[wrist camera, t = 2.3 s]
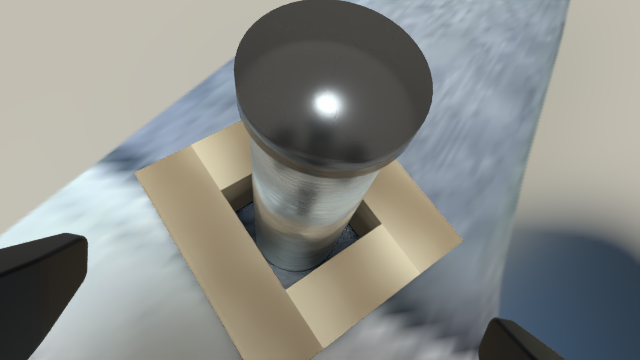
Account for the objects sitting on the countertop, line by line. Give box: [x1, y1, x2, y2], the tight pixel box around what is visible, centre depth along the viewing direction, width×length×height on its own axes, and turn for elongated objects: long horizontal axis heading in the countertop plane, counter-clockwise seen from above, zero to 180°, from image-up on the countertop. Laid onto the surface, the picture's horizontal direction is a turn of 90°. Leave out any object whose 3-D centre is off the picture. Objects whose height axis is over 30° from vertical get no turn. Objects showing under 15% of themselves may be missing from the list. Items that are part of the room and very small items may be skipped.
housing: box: [135, 120, 463, 360], centre depth 20 cm, size 11×11×4 cm
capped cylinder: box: [234, 0, 433, 271], centre depth 16 cm, size 5×5×13 cm
